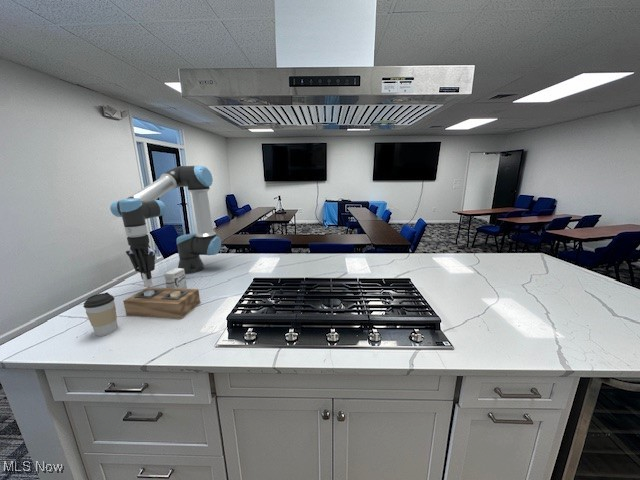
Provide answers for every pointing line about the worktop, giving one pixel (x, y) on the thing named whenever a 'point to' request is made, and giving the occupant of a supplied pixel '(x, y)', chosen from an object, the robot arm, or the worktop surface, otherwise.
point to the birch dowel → (175, 294)
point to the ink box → (176, 278)
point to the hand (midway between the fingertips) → (148, 285)
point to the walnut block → (162, 303)
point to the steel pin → (149, 293)
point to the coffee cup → (101, 313)
